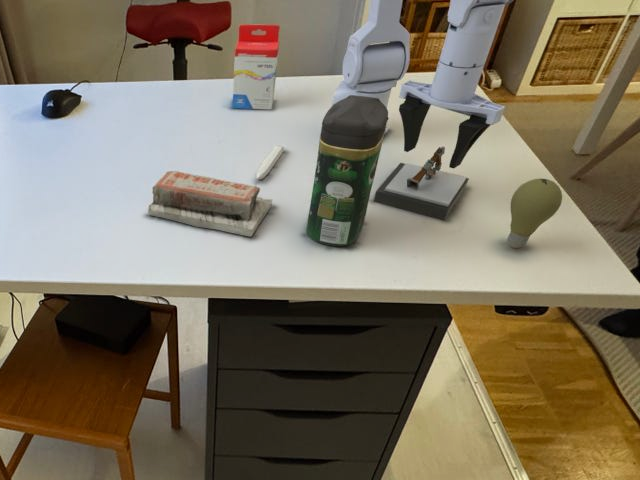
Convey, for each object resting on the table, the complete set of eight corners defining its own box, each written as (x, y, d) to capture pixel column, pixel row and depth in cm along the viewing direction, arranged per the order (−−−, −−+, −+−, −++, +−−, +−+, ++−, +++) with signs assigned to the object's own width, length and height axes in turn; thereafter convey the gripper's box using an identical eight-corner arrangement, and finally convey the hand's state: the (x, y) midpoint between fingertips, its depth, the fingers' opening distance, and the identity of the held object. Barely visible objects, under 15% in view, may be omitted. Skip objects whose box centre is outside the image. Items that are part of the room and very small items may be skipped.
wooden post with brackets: (447, 166, 87) (449, 144, 83) (416, 201, 86) (417, 182, 82) (437, 162, 88) (438, 141, 84) (406, 197, 87) (406, 178, 83)
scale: (373, 201, 87) (376, 188, 85) (397, 172, 93) (401, 159, 91) (444, 220, 82) (449, 206, 80) (465, 188, 88) (470, 175, 86)
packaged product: (143, 189, 84) (170, 161, 90) (146, 216, 88) (172, 187, 94) (254, 210, 78) (275, 178, 84) (252, 239, 82) (272, 206, 88)
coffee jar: (316, 209, 86) (336, 86, 73) (367, 219, 83) (398, 93, 70) (298, 241, 80) (316, 115, 67) (352, 253, 78) (383, 123, 64)
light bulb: (484, 237, 78) (512, 172, 71) (522, 233, 79) (554, 168, 71) (504, 259, 75) (536, 194, 67) (544, 255, 75) (580, 189, 67)
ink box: (231, 109, 115) (234, 31, 105) (234, 100, 119) (237, 23, 108) (272, 110, 114) (279, 31, 103) (274, 100, 117) (281, 23, 106)
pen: (251, 184, 93) (252, 175, 92) (276, 149, 101) (277, 140, 100) (260, 186, 92) (261, 177, 91) (285, 150, 101) (286, 142, 100)
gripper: (531, 65, 71) (491, 164, 80) (430, 42, 79) (405, 134, 89) (503, 80, 68) (465, 180, 78) (401, 55, 76) (378, 148, 86)
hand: (431, 157), depth 83 cm, fingers open, 7 cm apart
